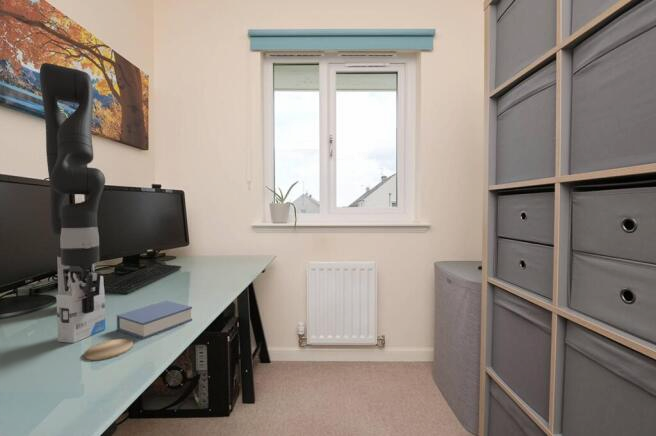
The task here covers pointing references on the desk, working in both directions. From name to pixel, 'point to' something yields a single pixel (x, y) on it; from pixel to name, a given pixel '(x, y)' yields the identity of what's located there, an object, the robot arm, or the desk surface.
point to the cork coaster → (108, 349)
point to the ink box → (79, 314)
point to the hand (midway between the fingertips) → (82, 310)
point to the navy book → (153, 319)
